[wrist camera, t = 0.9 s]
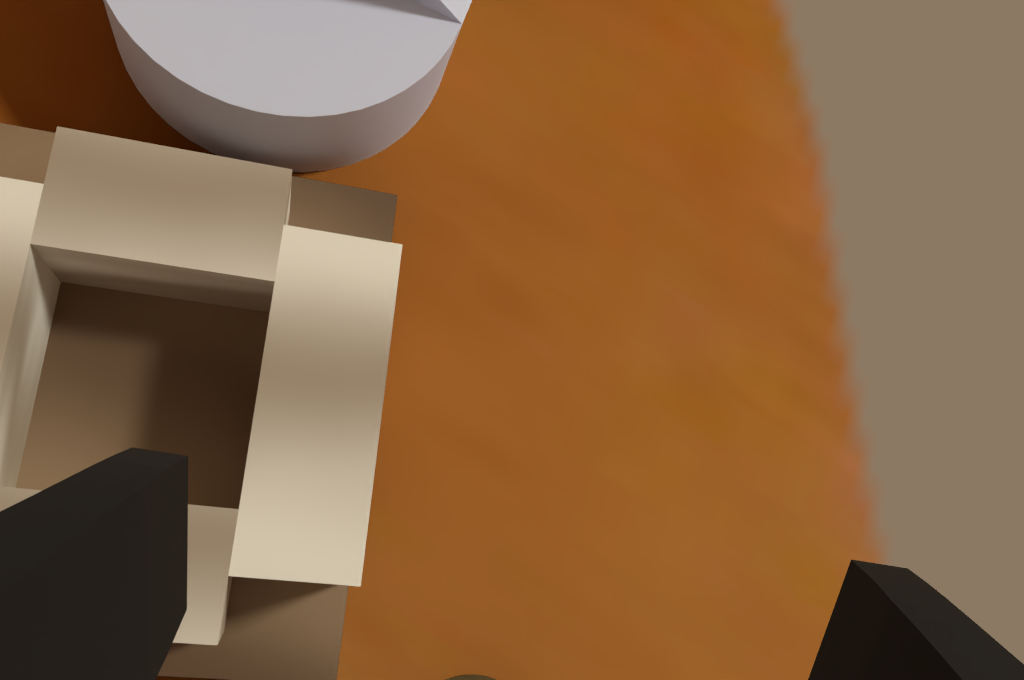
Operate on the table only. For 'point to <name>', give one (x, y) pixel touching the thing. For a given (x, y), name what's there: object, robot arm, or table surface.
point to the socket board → (204, 370)
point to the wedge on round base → (288, 72)
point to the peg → (470, 677)
